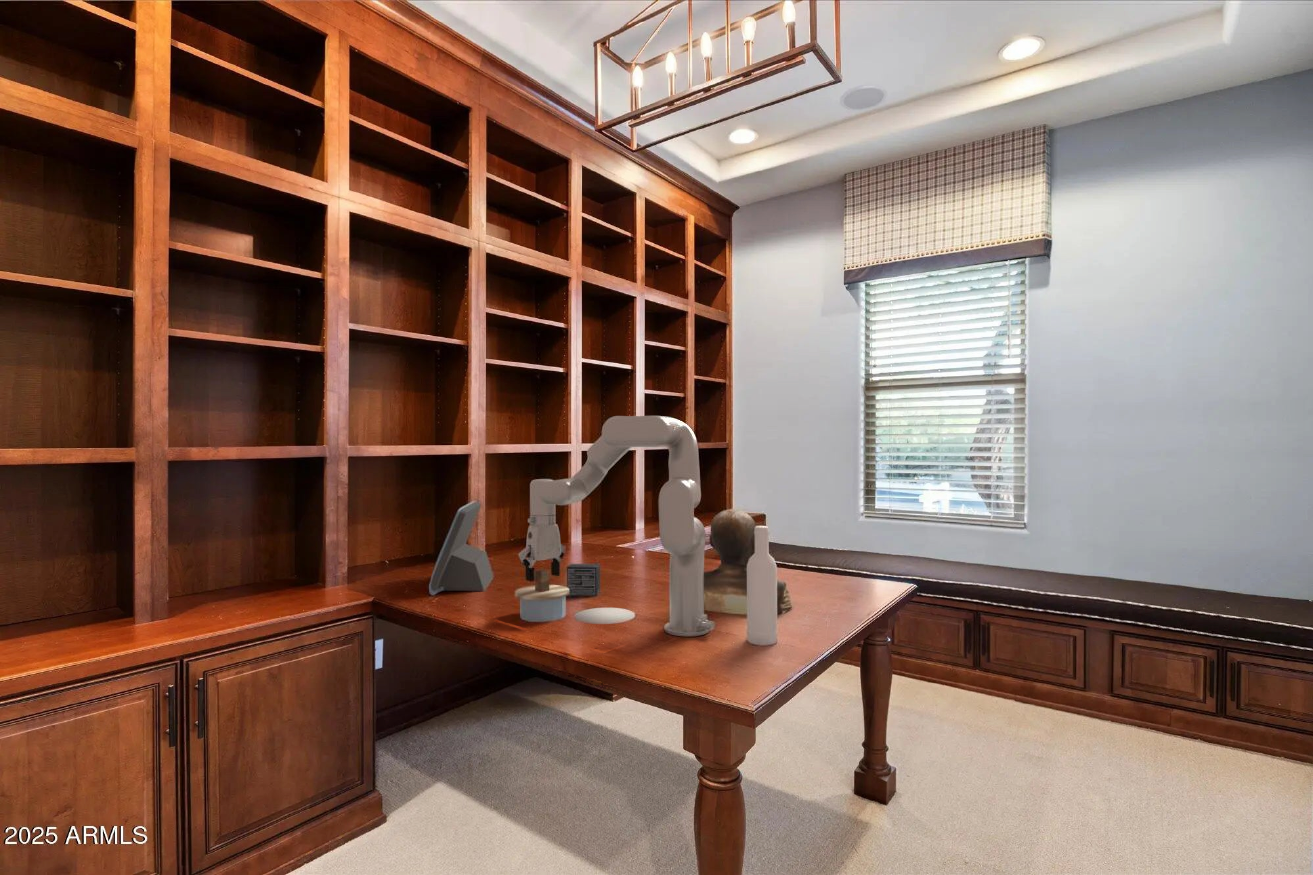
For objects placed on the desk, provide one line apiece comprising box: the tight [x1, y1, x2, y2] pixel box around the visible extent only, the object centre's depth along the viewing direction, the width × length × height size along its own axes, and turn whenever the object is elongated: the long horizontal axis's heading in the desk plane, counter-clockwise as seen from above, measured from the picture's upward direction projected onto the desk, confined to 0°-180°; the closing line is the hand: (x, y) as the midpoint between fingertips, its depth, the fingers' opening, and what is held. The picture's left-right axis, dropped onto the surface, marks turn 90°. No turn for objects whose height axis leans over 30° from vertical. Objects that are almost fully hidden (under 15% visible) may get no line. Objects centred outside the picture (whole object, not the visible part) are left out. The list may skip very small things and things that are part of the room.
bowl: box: [519, 596, 567, 623], centre depth 192 cm, size 13×13×7 cm
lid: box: [514, 568, 569, 601], centre depth 192 cm, size 16×16×7 cm
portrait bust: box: [704, 508, 793, 616], centre depth 207 cm, size 21×35×31 cm, turn 63°
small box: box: [566, 563, 601, 598], centre depth 220 cm, size 11×6×10 cm, turn 84°
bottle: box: [746, 525, 779, 647], centre depth 169 cm, size 8×8×30 cm
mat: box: [574, 607, 636, 625], centre depth 192 cm, size 18×18×1 cm
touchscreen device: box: [428, 500, 495, 596], centre depth 238 cm, size 35×20×30 cm, turn 6°
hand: (542, 577), depth 192 cm, fingers open, 9 cm apart
